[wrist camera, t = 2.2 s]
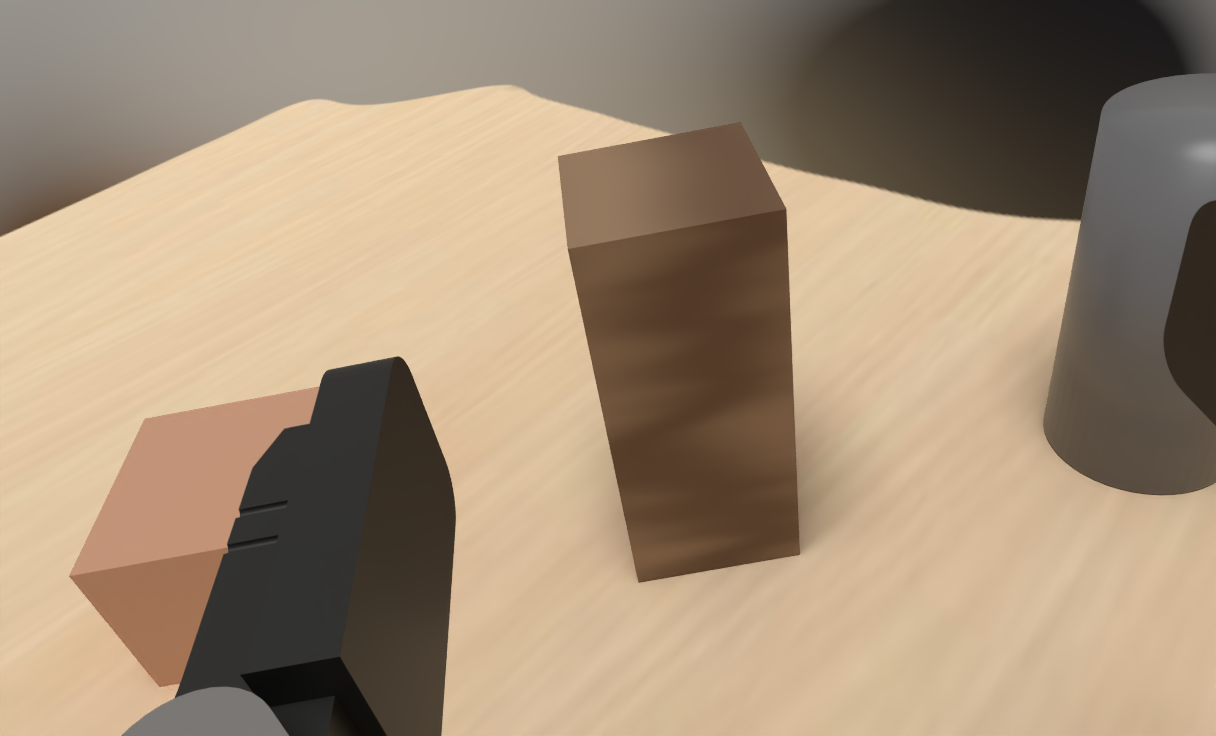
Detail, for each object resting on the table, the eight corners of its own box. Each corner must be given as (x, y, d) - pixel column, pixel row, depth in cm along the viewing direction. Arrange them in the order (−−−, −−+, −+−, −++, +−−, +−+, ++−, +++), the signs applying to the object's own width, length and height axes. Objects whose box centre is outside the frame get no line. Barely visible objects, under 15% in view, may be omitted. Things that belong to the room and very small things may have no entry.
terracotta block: (161, 689, 25) (69, 576, 22) (214, 530, 30) (144, 418, 27) (370, 652, 25) (306, 533, 22) (390, 498, 30) (340, 383, 27)
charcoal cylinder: (1047, 483, 26) (1112, 166, 20) (1040, 374, 30) (1092, 77, 23) (1251, 504, 24) (1391, 166, 18) (1217, 386, 28) (1324, 70, 22)
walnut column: (638, 582, 26) (567, 248, 19) (621, 469, 29) (557, 156, 22) (799, 554, 25) (786, 209, 19) (763, 444, 29) (740, 122, 22)
